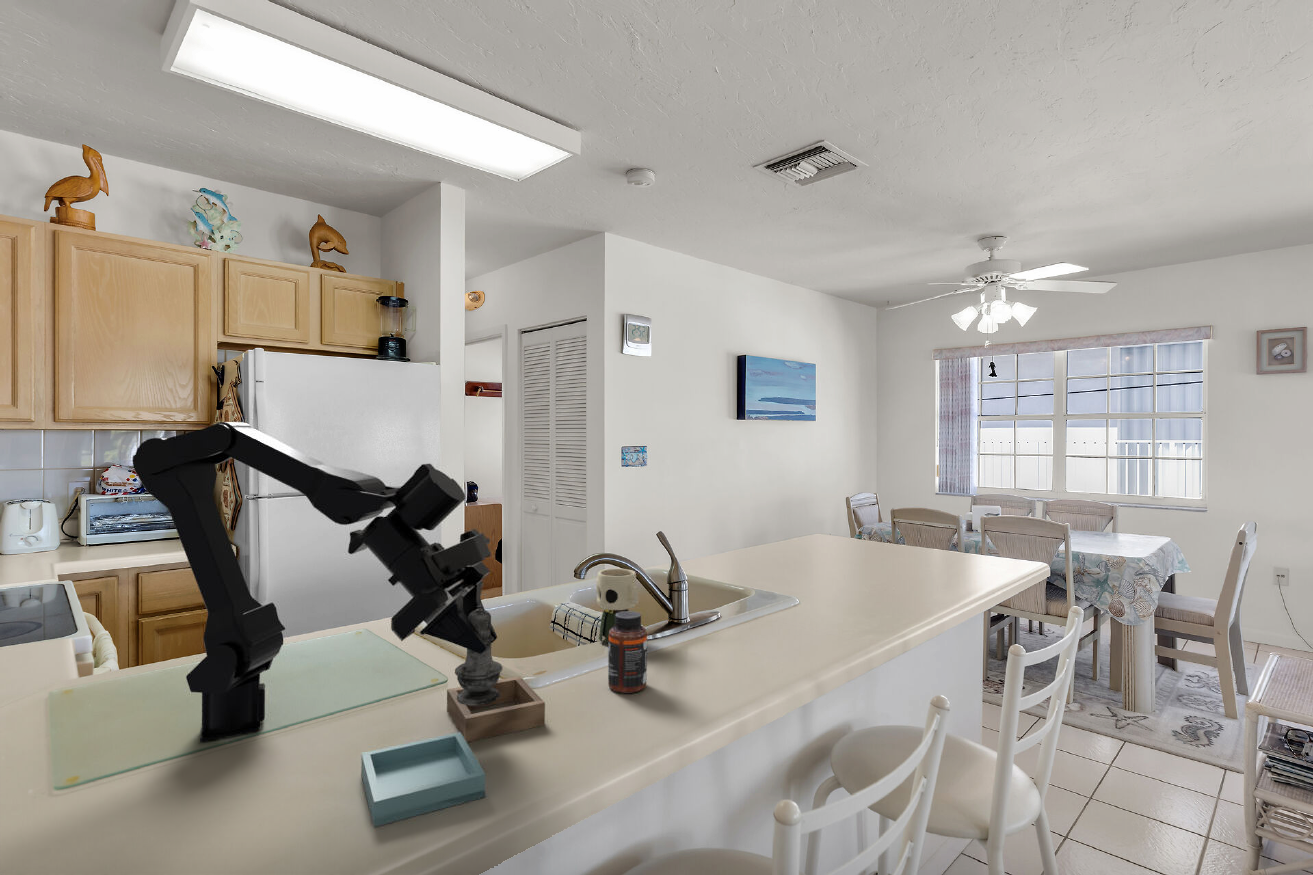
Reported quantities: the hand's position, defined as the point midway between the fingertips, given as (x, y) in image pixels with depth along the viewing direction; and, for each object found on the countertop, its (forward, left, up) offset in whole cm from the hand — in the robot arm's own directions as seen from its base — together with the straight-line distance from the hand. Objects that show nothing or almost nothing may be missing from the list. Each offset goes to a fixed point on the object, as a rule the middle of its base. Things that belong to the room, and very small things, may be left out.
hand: (489, 645), depth 83 cm
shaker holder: (+3, +6, -12) cm, 14 cm away
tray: (-9, -7, -12) cm, 17 cm away
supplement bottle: (+24, +7, -12) cm, 28 cm away
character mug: (+32, +27, -12) cm, 44 cm away
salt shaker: (-1, +1, -7) cm, 7 cm away
